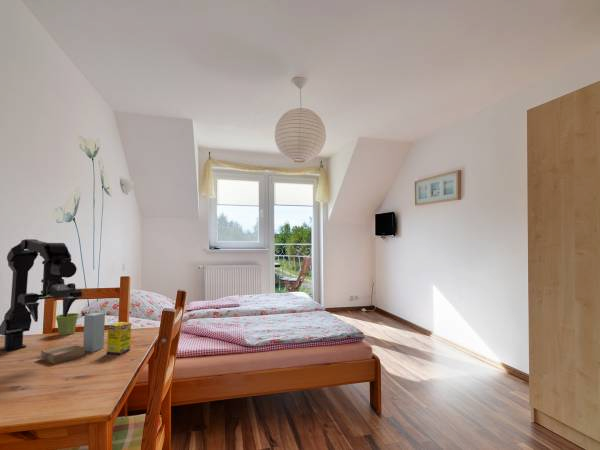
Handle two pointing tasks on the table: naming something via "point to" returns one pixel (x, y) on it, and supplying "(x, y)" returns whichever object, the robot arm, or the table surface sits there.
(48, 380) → the table surface
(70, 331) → the plant pot
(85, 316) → the slate block
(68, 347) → the walnut block
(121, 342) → the supplement box
